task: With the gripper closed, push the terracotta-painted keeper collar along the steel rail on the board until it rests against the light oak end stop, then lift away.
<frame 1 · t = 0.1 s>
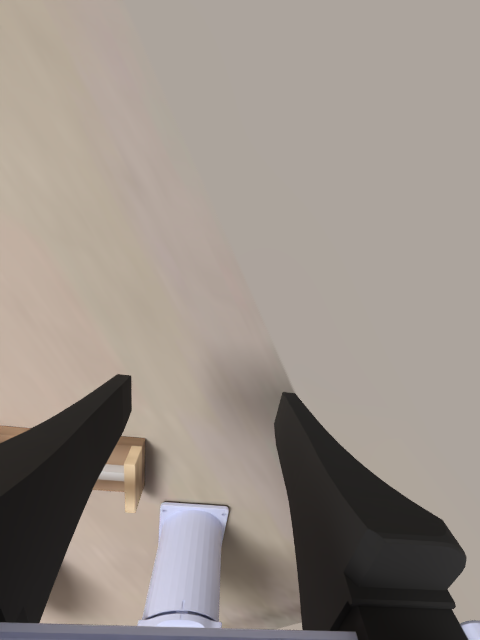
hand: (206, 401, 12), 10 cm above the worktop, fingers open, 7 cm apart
rail board: (27, 453, 27), on the worktop
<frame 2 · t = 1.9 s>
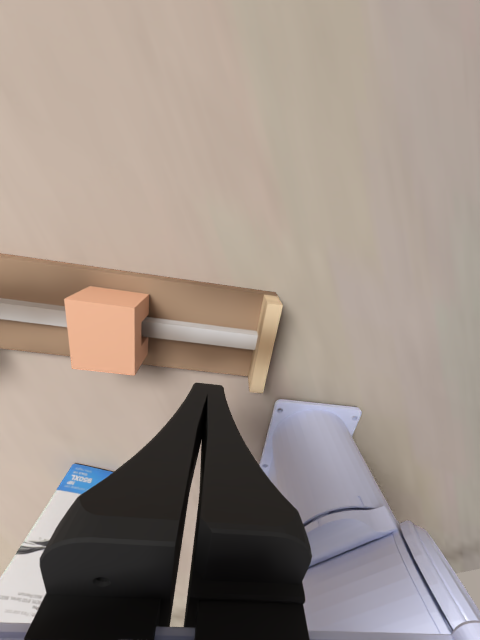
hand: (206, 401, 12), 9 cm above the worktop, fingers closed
rail board: (112, 314, 19), on the worktop
keeper: (111, 330, 17), point 3 cm above the worktop, slide at 0.0 cm
ink box: (91, 491, 27), on the worktop
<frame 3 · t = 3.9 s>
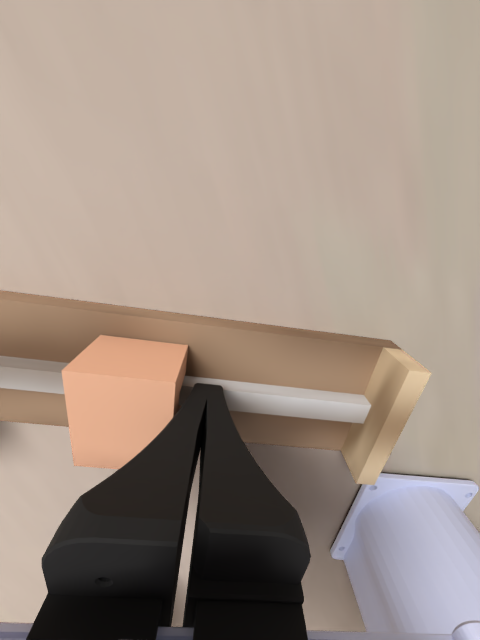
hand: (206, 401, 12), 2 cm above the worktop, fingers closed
rail board: (158, 371, 14), on the worktop
keeper: (134, 402, 11), point 3 cm above the worktop, slide at 1.4 cm, touching gripper
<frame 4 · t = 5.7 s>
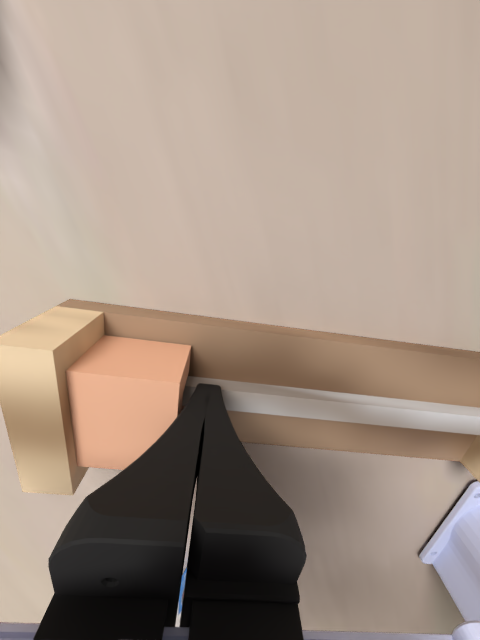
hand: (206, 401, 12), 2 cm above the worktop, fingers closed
rail board: (297, 386, 14), on the worktop
keeper: (137, 402, 11), point 3 cm above the worktop, slide at 9.0 cm, touching gripper, rail board
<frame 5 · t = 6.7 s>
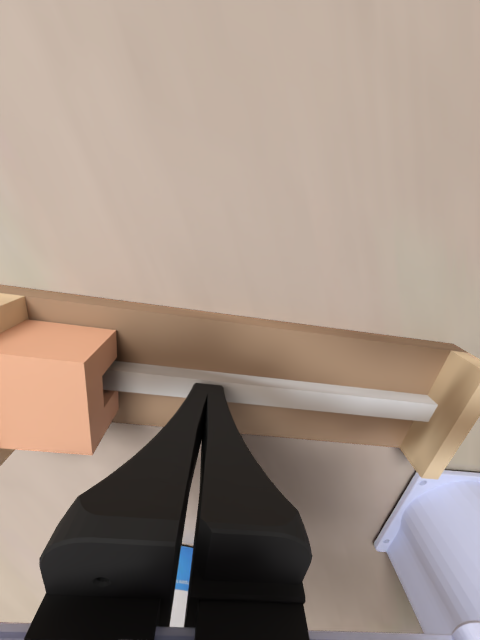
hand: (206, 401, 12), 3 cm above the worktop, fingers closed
rail board: (233, 372, 15), on the worktop
keeper: (58, 385, 12), point 3 cm above the worktop, slide at 9.0 cm
ink box: (165, 566, 22), on the worktop
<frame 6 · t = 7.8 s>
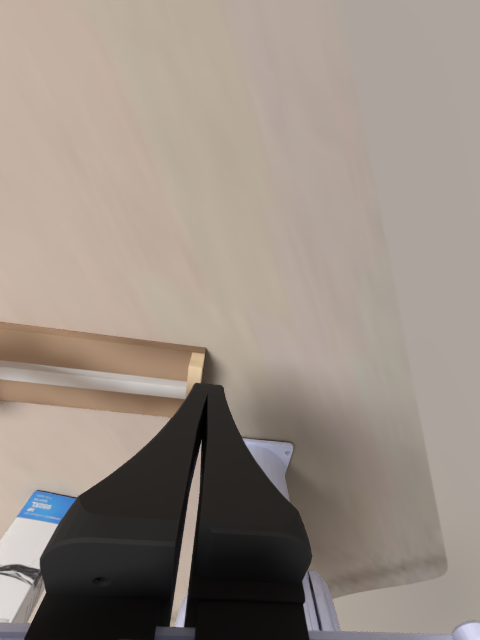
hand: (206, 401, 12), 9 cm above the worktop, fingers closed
rail board: (62, 365, 22), on the worktop
ink box: (54, 513, 30), on the worktop
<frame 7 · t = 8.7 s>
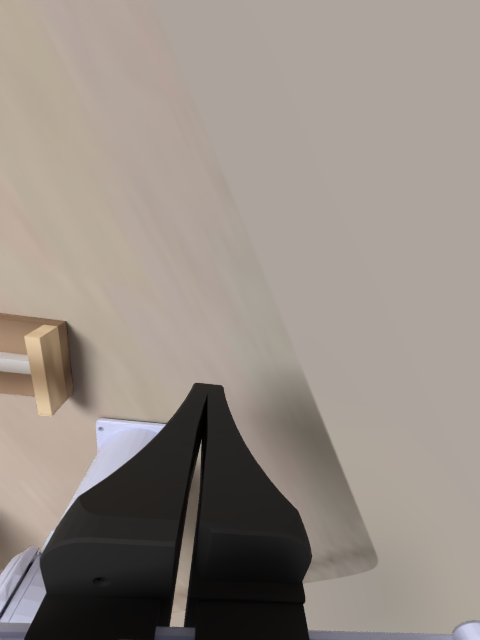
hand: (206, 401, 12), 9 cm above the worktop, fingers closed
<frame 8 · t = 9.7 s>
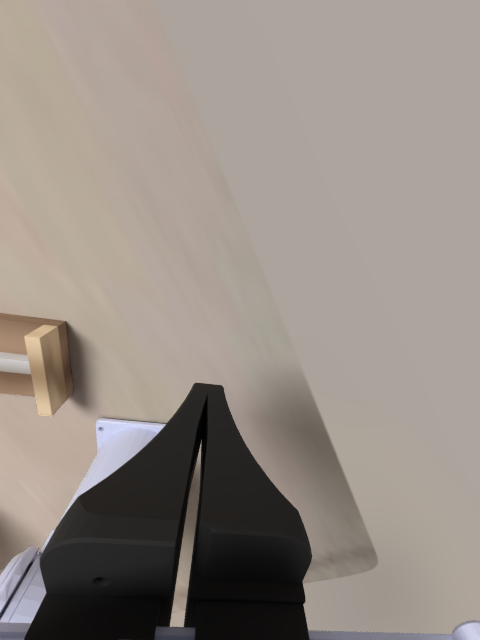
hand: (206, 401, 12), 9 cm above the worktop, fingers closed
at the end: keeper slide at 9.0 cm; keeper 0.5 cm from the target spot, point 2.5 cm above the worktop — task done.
